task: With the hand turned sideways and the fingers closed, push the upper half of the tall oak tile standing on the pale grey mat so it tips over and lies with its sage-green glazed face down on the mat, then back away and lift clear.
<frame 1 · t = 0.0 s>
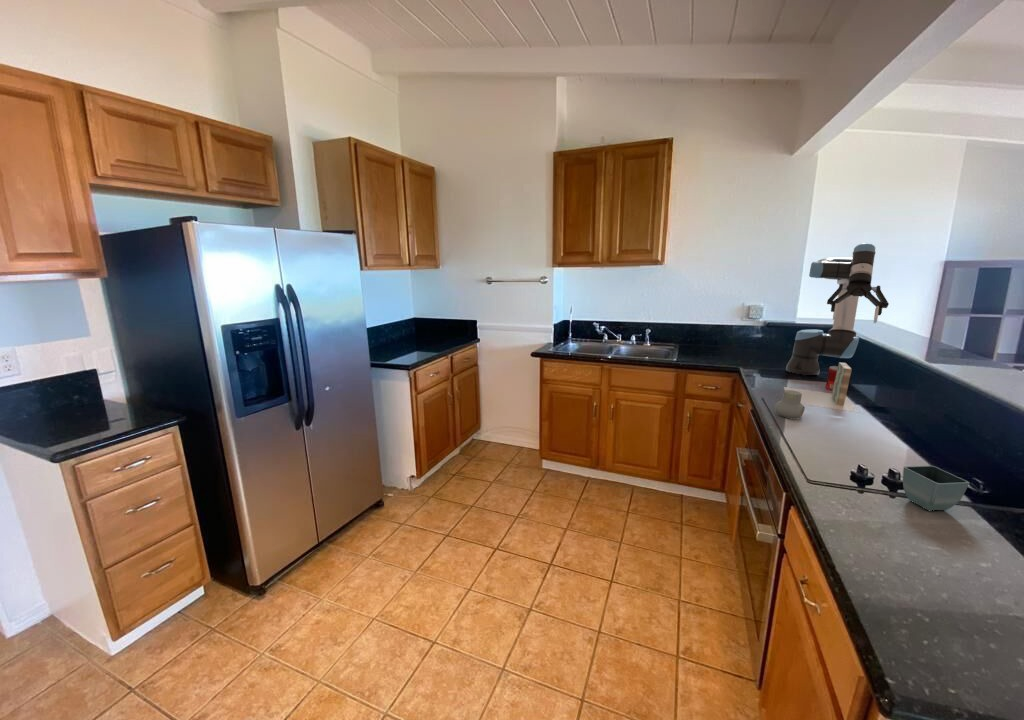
hand: (854, 319, 177), 36 cm above the counter, tool tilted 35°, fingers open, 13 cm apart
air freshener: (788, 416, 168), on the counter
canned food: (835, 391, 201), on the counter
flower pot: (926, 506, 109), on the counter
tile: (837, 401, 185), point 1 cm above the counter, touching mat
mat: (817, 399, 188), on the counter
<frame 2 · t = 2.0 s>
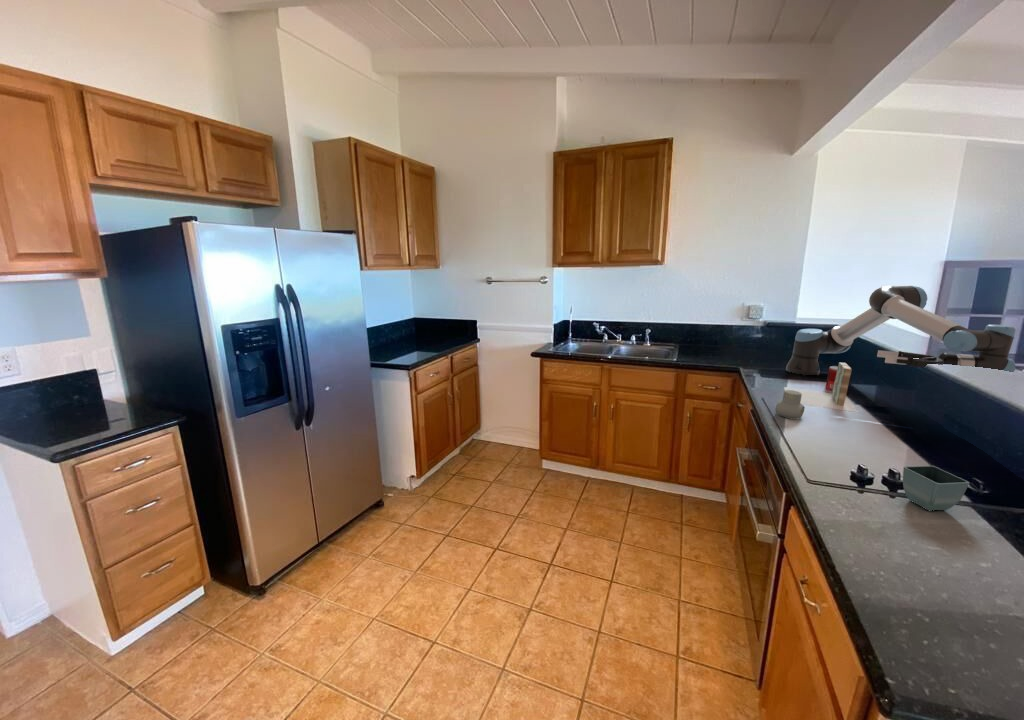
hand: (881, 356, 174), 22 cm above the counter, tool horizontal, fingers open, 11 cm apart
nothing on the counter moved.
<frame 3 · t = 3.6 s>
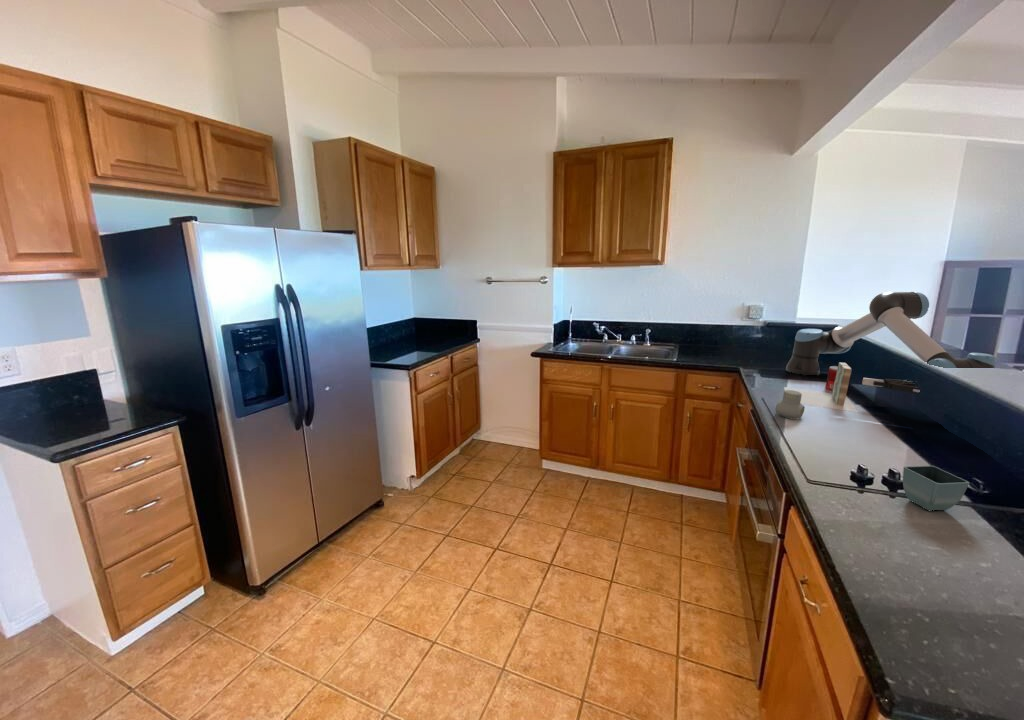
hand: (863, 381, 179), 11 cm above the counter, tool horizontal, fingers closed
nothing on the counter moved.
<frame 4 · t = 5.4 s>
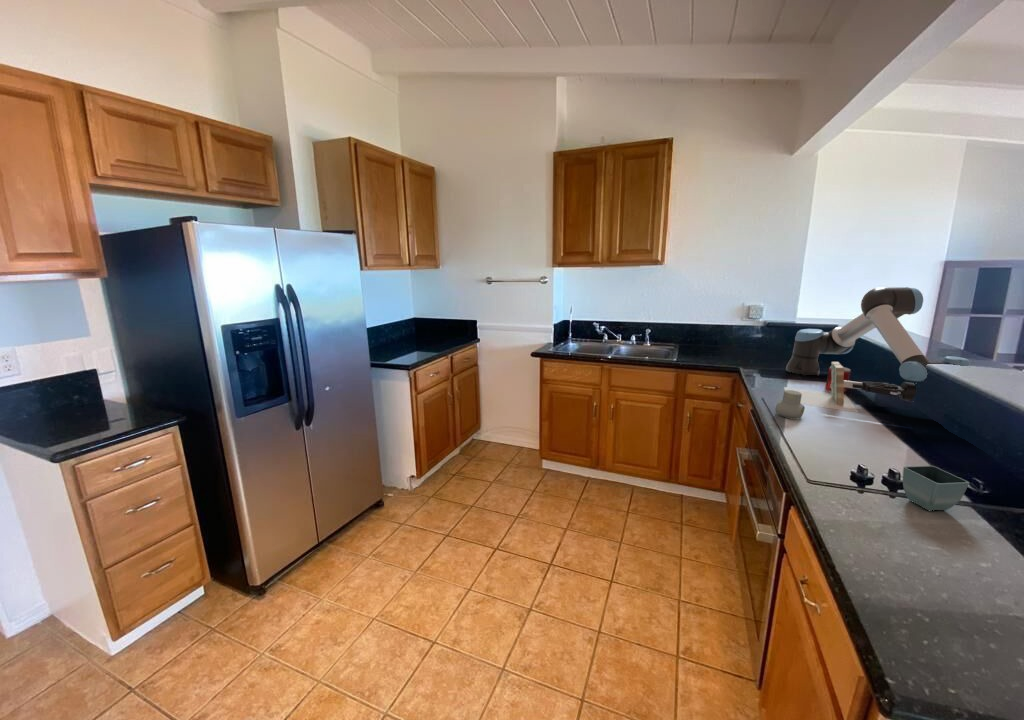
hand: (842, 383, 182), 9 cm above the counter, tool horizontal, fingers closed
tile: (837, 400, 185), point 1 cm above the counter, tilted 10°, touching mat
everything else where it was.
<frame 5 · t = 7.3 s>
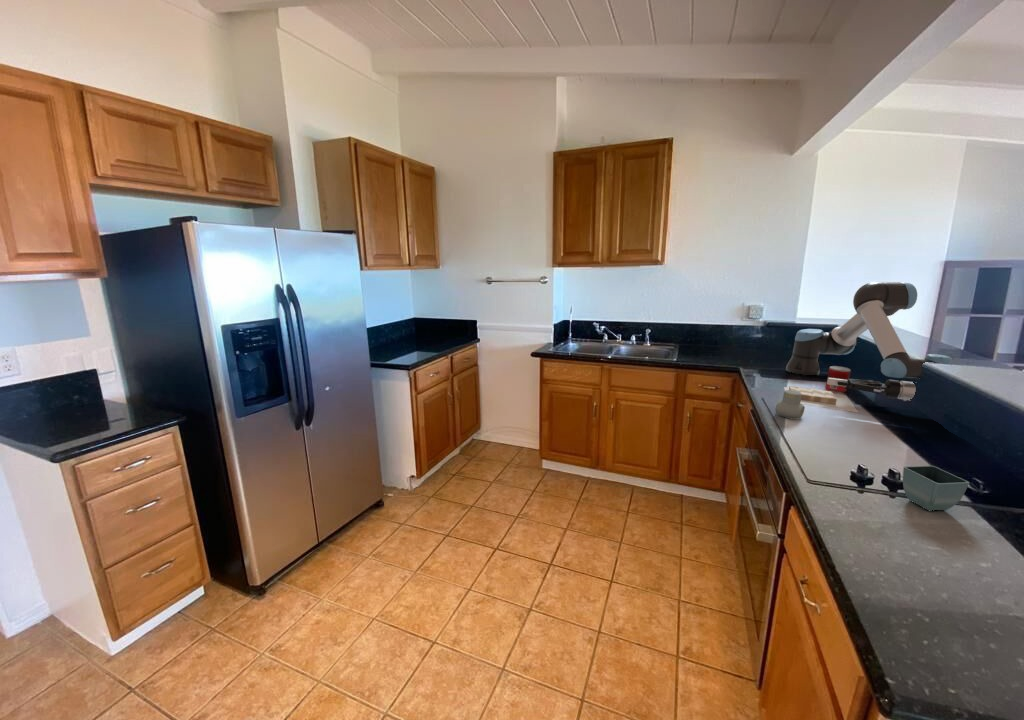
hand: (827, 380, 185), 9 cm above the counter, tool horizontal, fingers closed
tile: (833, 398, 185), point 2 cm above the counter, tilted 90°, touching mat
everything else where it was.
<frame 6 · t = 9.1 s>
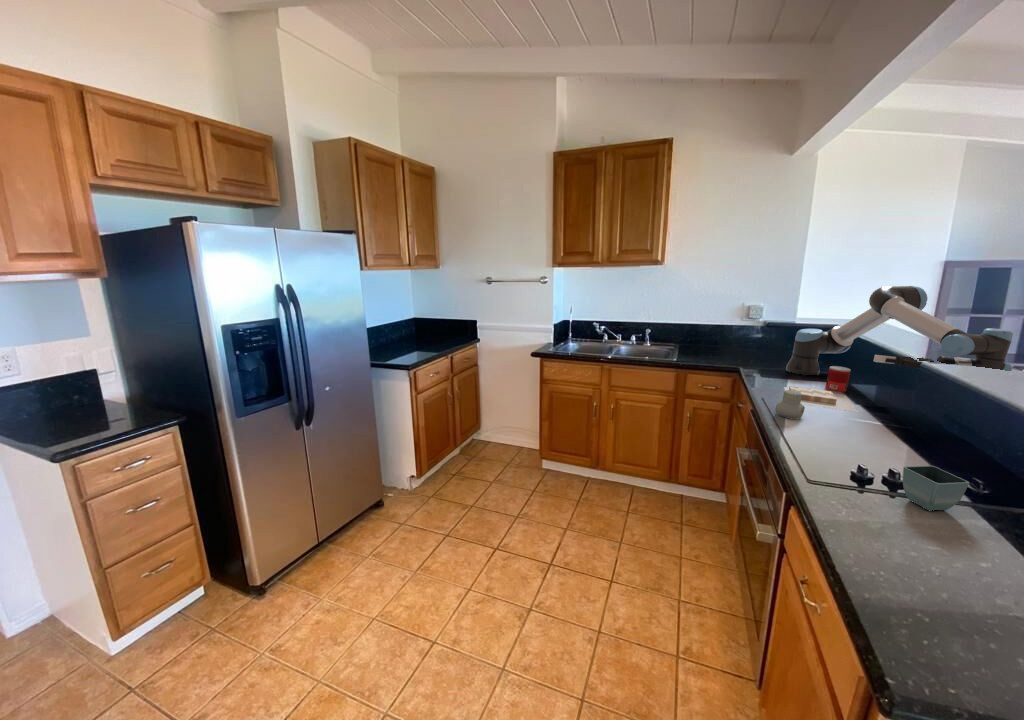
hand: (874, 358, 176), 21 cm above the counter, tool horizontal, fingers closed
nothing on the counter moved.
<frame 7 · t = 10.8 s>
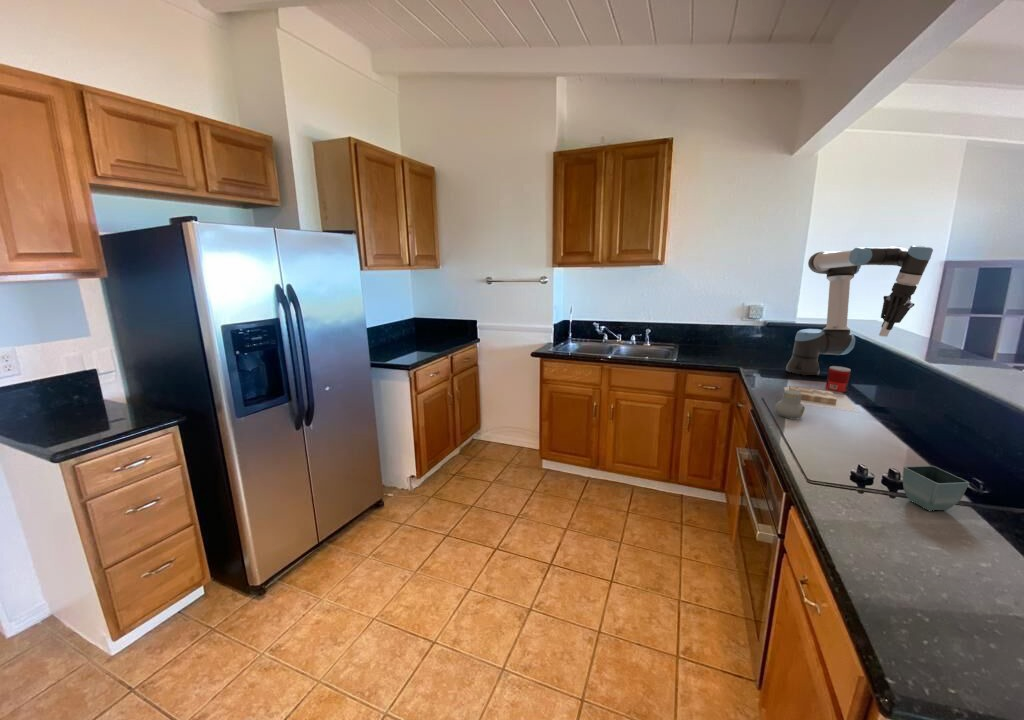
hand: (883, 335, 190), 27 cm above the counter, tool pointing down, fingers closed
nothing on the counter moved.
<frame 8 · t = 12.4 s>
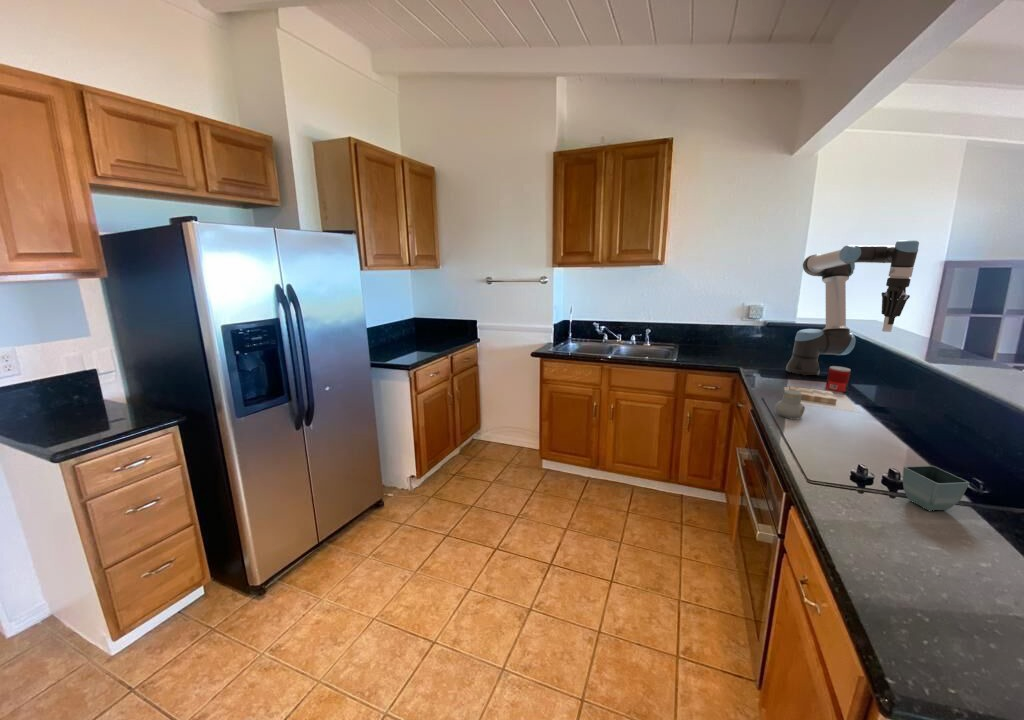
hand: (886, 331, 190), 29 cm above the counter, tool pointing down, fingers closed
nothing on the counter moved.
at the end: tile tilted 90°; tile inside the target area (0.6 cm from its centre), point 1.8 cm above the counter; the gripper is holding nothing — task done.
